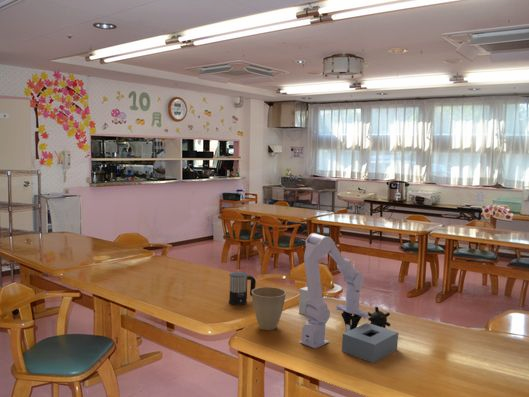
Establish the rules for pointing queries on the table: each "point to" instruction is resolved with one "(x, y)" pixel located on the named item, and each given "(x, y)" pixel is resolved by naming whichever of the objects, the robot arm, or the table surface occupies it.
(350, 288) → the robot arm
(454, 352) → the table surface
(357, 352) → the grey square hole block
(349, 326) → the wooden block
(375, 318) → the toy ball
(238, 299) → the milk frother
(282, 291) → the plant pot
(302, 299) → the skincare box
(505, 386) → the table surface
